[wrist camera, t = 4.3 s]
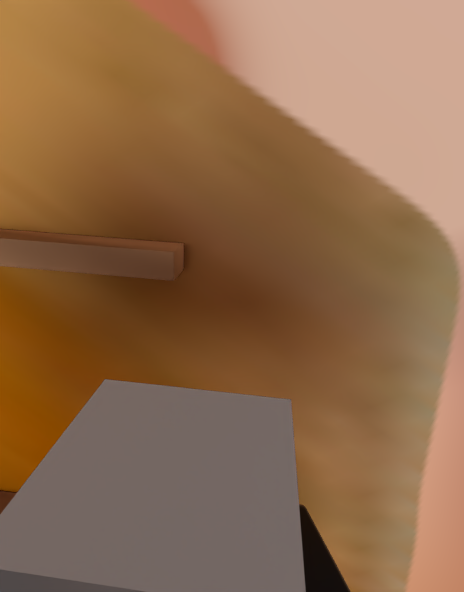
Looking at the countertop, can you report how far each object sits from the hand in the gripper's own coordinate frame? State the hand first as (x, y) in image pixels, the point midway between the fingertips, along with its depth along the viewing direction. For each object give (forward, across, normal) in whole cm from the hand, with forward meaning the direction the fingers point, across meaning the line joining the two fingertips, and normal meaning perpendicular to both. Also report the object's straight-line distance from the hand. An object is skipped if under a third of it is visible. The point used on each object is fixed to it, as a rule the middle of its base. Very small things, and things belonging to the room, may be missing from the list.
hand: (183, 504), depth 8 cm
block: (+1, 0, 0) cm, 1 cm away
